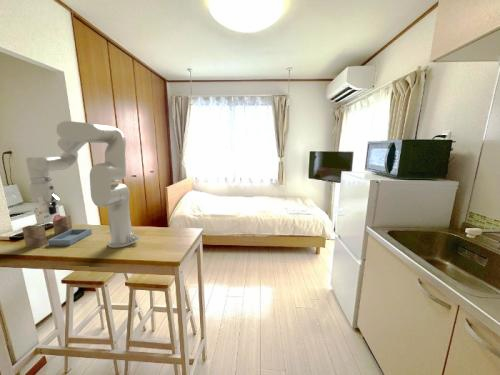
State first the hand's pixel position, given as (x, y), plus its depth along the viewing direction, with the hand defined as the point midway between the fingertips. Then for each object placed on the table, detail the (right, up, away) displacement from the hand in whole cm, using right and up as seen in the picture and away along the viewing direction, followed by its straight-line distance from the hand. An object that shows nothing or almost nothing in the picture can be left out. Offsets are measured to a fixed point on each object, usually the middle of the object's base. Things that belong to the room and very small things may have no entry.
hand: (47, 213), depth 113 cm
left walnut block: (-1, -16, -5) cm, 16 cm away
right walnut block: (-1, -13, +11) cm, 17 cm away
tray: (+11, -14, +2) cm, 18 cm away
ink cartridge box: (0, -5, +1) cm, 5 cm away
